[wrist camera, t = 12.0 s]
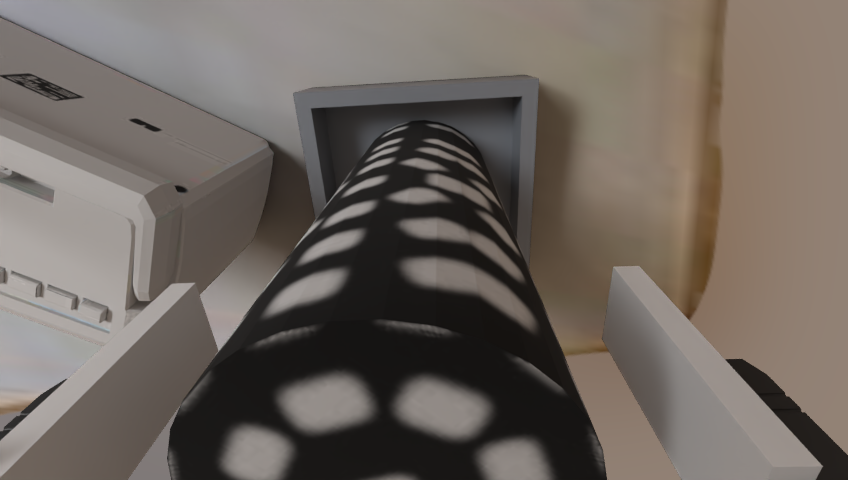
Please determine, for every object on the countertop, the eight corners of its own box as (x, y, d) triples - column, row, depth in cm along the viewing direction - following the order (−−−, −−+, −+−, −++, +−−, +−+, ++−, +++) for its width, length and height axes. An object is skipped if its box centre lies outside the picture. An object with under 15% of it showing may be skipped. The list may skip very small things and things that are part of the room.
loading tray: (311, 87, 25) (292, 92, 22) (525, 75, 24) (539, 78, 21) (341, 273, 30) (329, 299, 27) (518, 267, 29) (527, 293, 26)
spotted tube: (464, 98, 24) (543, 249, 6) (505, 224, 27) (640, 579, 9) (335, 149, 25) (70, 397, 7) (388, 262, 29) (297, 636, 10)
